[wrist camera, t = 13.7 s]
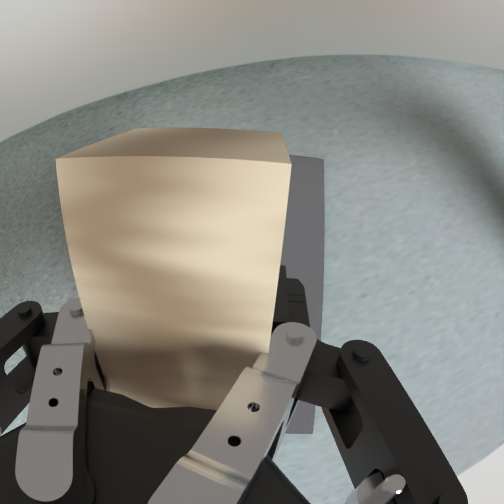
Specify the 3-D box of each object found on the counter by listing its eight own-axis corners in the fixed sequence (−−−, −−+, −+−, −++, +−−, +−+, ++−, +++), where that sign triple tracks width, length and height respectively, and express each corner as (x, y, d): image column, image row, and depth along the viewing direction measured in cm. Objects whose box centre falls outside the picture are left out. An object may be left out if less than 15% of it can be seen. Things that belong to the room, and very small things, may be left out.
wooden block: (252, 403, 17) (281, 133, 10) (247, 482, 12) (291, 164, 6) (165, 393, 17) (137, 128, 10) (144, 467, 12) (55, 158, 6)
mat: (322, 161, 32) (323, 159, 32) (311, 432, 24) (312, 433, 24) (169, 151, 32) (168, 148, 32) (129, 412, 25) (127, 413, 24)
